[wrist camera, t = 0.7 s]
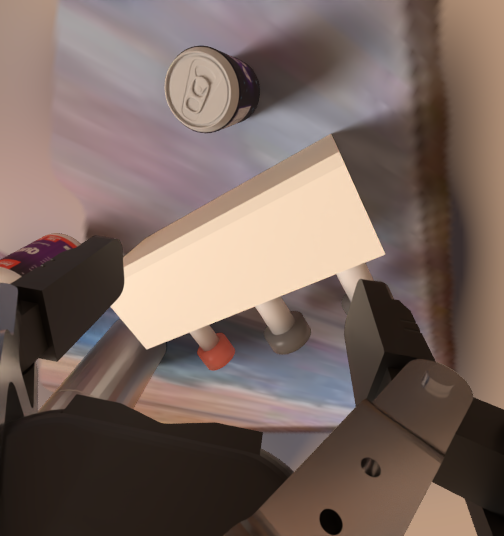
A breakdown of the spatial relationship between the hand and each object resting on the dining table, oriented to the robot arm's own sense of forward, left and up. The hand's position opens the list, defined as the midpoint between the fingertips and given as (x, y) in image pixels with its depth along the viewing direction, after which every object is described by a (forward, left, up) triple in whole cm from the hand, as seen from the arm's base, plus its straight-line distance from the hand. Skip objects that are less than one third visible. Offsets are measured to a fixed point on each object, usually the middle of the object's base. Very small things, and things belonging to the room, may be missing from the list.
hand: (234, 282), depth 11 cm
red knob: (-22, -2, -23) cm, 32 cm away
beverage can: (+2, +8, -28) cm, 29 cm away
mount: (-10, 0, -28) cm, 30 cm away
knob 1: (-14, -7, -24) cm, 28 cm away
